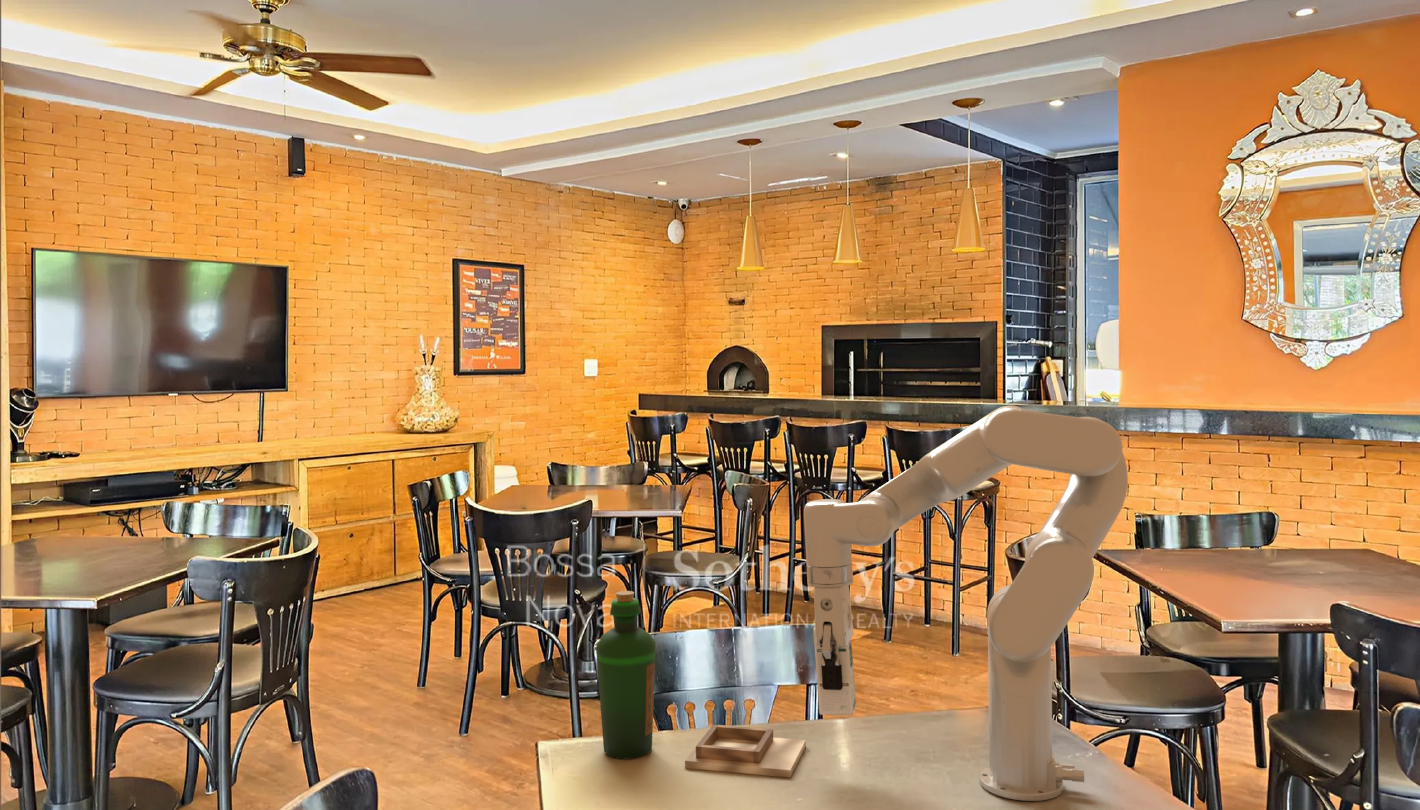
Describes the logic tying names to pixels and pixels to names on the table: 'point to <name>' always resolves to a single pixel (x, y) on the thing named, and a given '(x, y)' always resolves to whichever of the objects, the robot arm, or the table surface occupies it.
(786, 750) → the stand board
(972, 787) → the table surface
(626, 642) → the bottle
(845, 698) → the syrup box
